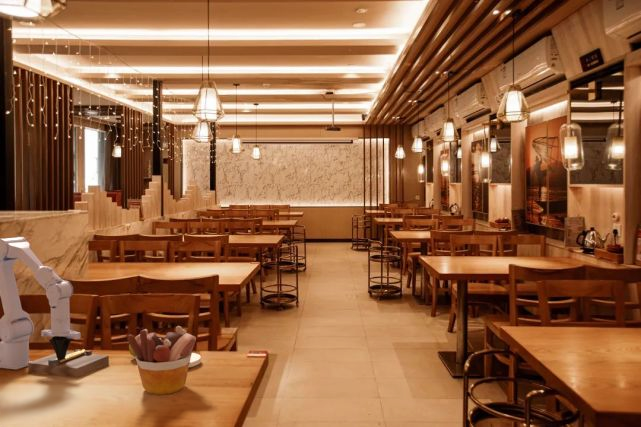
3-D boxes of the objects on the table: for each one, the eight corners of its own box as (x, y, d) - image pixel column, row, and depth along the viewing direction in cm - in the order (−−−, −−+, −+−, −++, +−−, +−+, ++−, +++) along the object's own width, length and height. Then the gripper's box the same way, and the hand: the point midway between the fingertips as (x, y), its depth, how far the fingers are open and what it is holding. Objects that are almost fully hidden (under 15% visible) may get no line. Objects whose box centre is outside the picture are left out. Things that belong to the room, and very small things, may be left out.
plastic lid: (186, 357, 202) (186, 350, 202) (209, 365, 192) (208, 357, 192) (151, 365, 192) (151, 358, 192) (173, 374, 182) (172, 367, 182)
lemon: (140, 360, 196) (140, 338, 196) (126, 360, 198) (125, 337, 197) (148, 356, 202) (147, 334, 202) (134, 355, 203) (133, 333, 203)
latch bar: (53, 362, 184) (53, 359, 184) (80, 352, 196) (80, 349, 196) (60, 363, 183) (60, 360, 183) (87, 353, 195) (87, 350, 195)
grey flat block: (28, 371, 185) (28, 358, 185) (62, 359, 199) (62, 346, 199) (76, 377, 179) (76, 363, 178) (108, 364, 193) (108, 350, 193)
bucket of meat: (164, 376, 180) (163, 314, 179) (206, 383, 173) (205, 319, 172) (117, 396, 162) (116, 328, 161) (161, 405, 154) (160, 334, 154)
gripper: (33, 319, 184) (34, 360, 184) (68, 322, 179) (69, 364, 179) (50, 315, 190) (51, 354, 191) (84, 317, 186) (85, 358, 186)
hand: (61, 359), depth 185 cm, fingers closed, pressing on latch bar
